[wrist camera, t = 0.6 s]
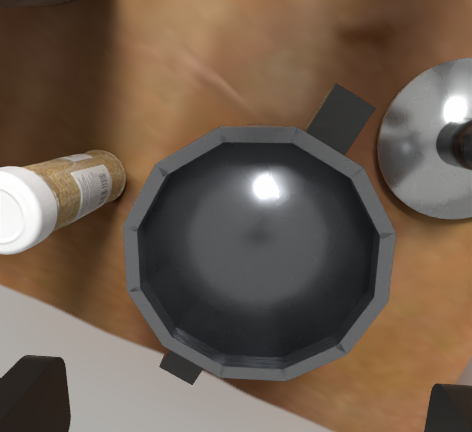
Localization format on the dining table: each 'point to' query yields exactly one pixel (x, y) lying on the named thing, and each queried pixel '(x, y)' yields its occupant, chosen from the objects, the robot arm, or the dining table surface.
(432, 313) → the dining table surface
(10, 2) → the plant pot
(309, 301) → the pot
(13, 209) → the sprinkles bottle
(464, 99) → the lid
